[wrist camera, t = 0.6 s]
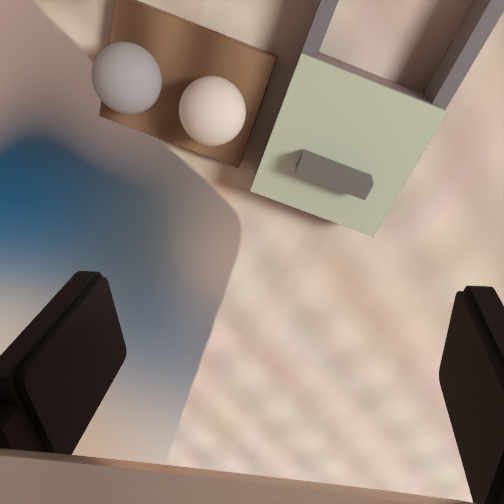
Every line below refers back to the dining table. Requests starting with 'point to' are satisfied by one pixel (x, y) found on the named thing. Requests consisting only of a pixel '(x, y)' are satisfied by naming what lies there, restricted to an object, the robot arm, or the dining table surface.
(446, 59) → the bin
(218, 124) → the cream matte ball
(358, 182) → the lid
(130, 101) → the grey matte ball
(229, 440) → the dining table surface
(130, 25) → the board
